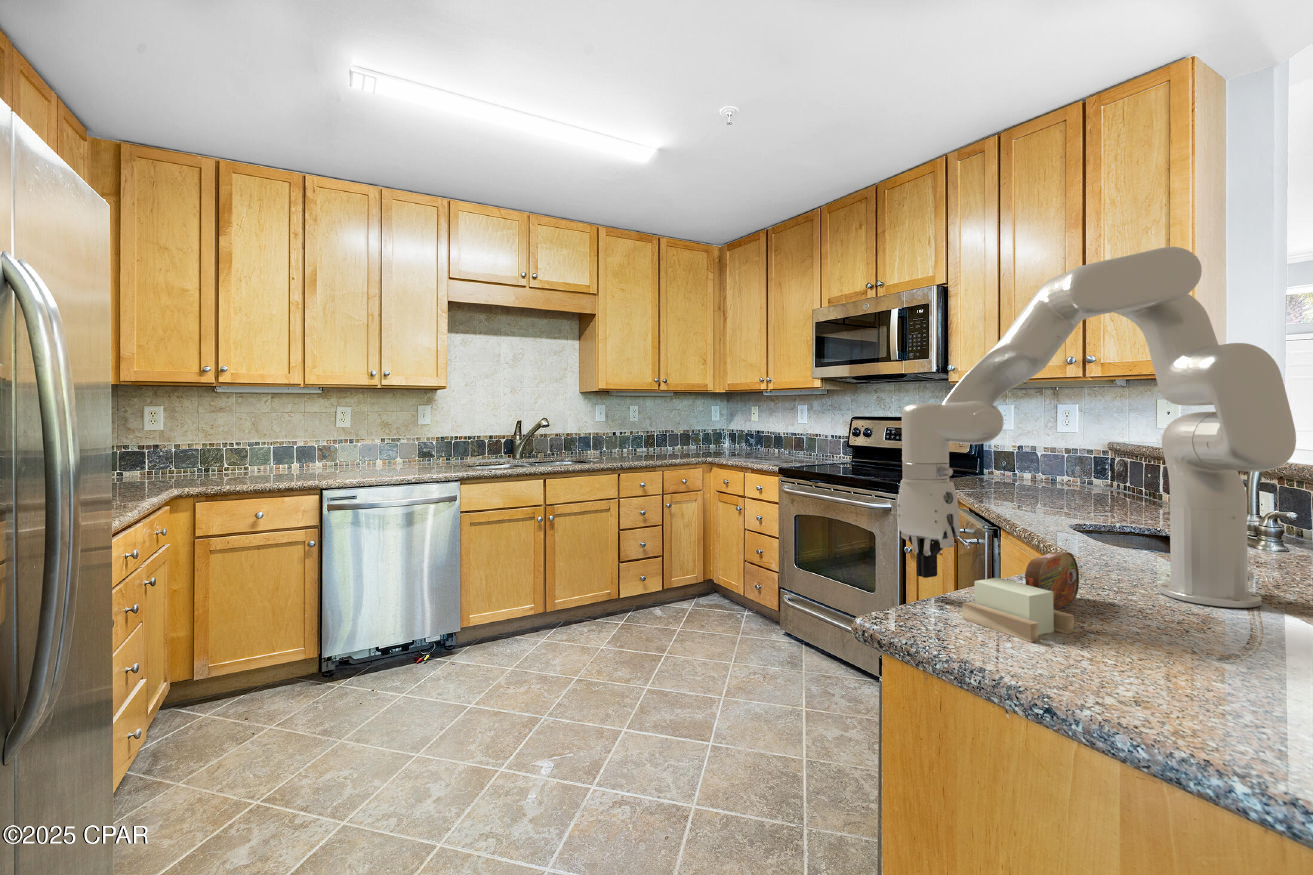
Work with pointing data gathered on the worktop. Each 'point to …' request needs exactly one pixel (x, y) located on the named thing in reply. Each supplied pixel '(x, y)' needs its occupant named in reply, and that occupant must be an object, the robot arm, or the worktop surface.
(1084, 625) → the worktop surface
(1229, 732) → the worktop surface
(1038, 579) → the tin
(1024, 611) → the block
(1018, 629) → the chute
